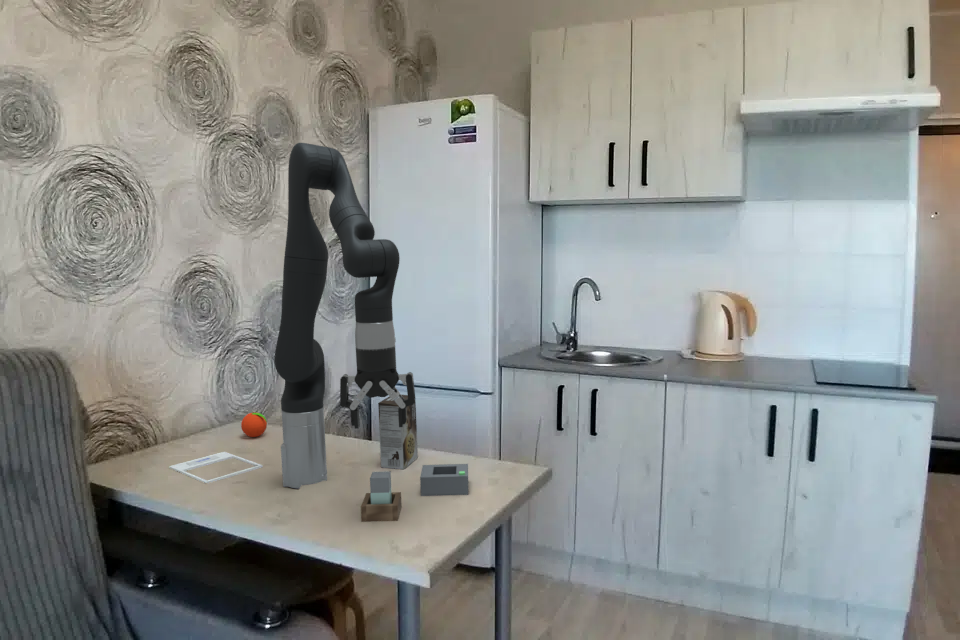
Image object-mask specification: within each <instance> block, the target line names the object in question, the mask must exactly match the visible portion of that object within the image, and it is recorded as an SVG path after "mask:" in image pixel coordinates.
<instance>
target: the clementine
mask: <svg viewBox="0 0 960 640" xmlns="http://www.w3.org/2000/svg"><path fill="white" fill-rule="evenodd" d="M240 424H241V425H240V427H241V430H242V432H243V434H245V436H247V437H249V438H258V437H259V436H261V435H263V434H264V433H265V431H266V430H267V426H268V421H267V418H266V417H265V415H263V414H262V413H260V412H254V411H252V412H250V413H247V414H246V415H244V416H243V418H242V420H241V423H240Z"/></svg>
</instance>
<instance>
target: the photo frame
mask: <svg viewBox="0 0 960 640" xmlns="http://www.w3.org/2000/svg"><path fill="white" fill-rule="evenodd" d="M230 459H236V461H237V460H238V461H240V462H243V463H246V464H248V465H250V466H252V467H248V468H245V469H242V470H237V471H235V472H231V473H228V474H225V475H221V476H218V477H214V478H211V479H208V480H207V479H205V478H203V477H200V476H197V475H194V474H193V473H191V472H189V471H191V470H194V469H198V468H202V467H205V466H208V465H212V464H216V463H220V462H223V461H227V460H230ZM263 467H264V466H263V464H261V463H258V462H255V461H252V460H250V459H247V458H243V457H241V456H238V455H235V454H232V453H231V452H230V453H229V452H227V451H221V452H218V453H214V454H210V455H207V456H203V457H199V458H195V459H192V460H191V459H190V460H188V461H184V462H179V463H176V464H173V465H170V466H168V469H170V470H172V469H173V470H172V471H174V470H175V472H177V471H178V472H177V473H179V472H180V473H179V474H181V473H182V475H184V474H185V475H184V476H186V475H187V476H186V477H188V476H189V477H188V478H191V477H192V478H191V479H193V478H194V479H193V480H195V479H196V480H195V481H198V480H199V481H198V482H200V481H202V482H204V483H203V484H205V483H208V484H210V483H209V482H211V483H214V482H213V481H215V482H218V481H220V480H224V479H227V478H232V477H234V476H237V475H241V474H244V473H248V472H251V471H254V470H258V469H261V468H263ZM187 470H188V472H187ZM217 480H218V481H217ZM202 482H201V483H202Z"/></svg>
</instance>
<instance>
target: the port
mask: <svg viewBox="0 0 960 640" xmlns="http://www.w3.org/2000/svg"><path fill="white" fill-rule="evenodd" d="M419 482H420V483H419V484H420V497H430V496H431V497H436V496H467V495H469V463H447V464H445V463H444V464H422V467H421V472H420V476H419Z"/></svg>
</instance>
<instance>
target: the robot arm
mask: <svg viewBox="0 0 960 640" xmlns="http://www.w3.org/2000/svg"><path fill="white" fill-rule="evenodd" d="M290 151H291V152H290V154H289V159H288V160H289V161H288V169H287V170H288V171H287V172H288V173H287V174H288V175H287V176H288V177H287V179H288V180H287V181H288V182H287V185H288V186H287V189H288V190H287V196H288V197H287V199H288V200H287V201H288V209H287V214H288V215H287V228H286V238H285V239H286V240H285V249H284V256H283V257H284V259H283V273H282V274H283V275H282V278H283V279H282V289H281V290H282V291H281V293H282V294H281V313H280V314H281V317H280V324H279V331H278V336H277V341H276V344H275V352H274V357H273V358H274V359H273V361H274V363H273V364H274V367H275V370H276V372H277V374H278V375H279V376H280V378H281V379H283V380H284V388H283V392H282V395H281V398H280V409H281V422H282V423H281V424H282V444H281V445H280V456H281V458H280V459H281V473H282V474H281V475H282V487H284V488H285V487H287V488H288V487H289V488H292V489H300V488H301V487H302V486H309V485H314V484H318V483H321V482H323V481H325V482H326V481H328V468H327V450H326V449H327V447H326V432H325V429H326V428H325V411H324V398H325V393H326V392H325V391H326V378H325V377H326V369H325V367H326V366H325V365H326V364H325V354H324V350H323V348H322V345H321V344H320V343H319V341H318V340H316V339H315V337H314V335H315V322H316V321H315V320H316V316H317V312H318V308H319V307H320V304H321V301H322V297H323V294H324V291H325V287H326V282H327V281H326V280H327V275H328V274H327V273H328V265H329V264H328V263H329V262H328V261H329V249H328V246H327V243H326V242H325V240H324V239H325V238H324V237H323V235H322V232H321V231H320V229H319V227H318V225H317V223H316V221H315V219H314V217H313V214H312V210H311V205H310V193H309V192H310V189H313V190H321V191H329V192H331V194H333V195H334V196H333V198H332V200H331V203H330V205H329V209H328V218H329V222H330V225H331V226H332V228H333V229H334V230H333V231H334V232H335V234H336V236H337V238H338V239H339V242H340V247H341V253H342V264H343V265H342V266H343V268H344V270H345V272H346V273H348V275H350V276H351V277H354V278H358V279H360V278H361V279H362V278H374V277H376V279H375V282H374V284H373V286H371V287H369V288H366V289H363V290H360V291H357V293H356V294H355V296H354V315H355V317H354V319H355V329H354V330H355V331H354V339H355V361H356V375H348V374H347V373H345V374H343V375H342V376H341V377H340V378H339V379H340V381H339V382H340V383H339V384H340V386H339V389H340V390H339V391H340V393H339V394H340V395H339V406H340V407H341V408H346V409H349V411H350V412H349V413H350V424H351V426H352V427H354V429H355V430H356V429H357V430H358V429H360V427H361V426H360V425H361V422H360V420H361V419H360V407H359V404H360V403H361V402H362V401H363V399H364V398H365V396H366V397H368V398H370V399H371V398H373V399H374V398H376V397H378V398H387V397H389V396H390V397H391V398H392V400H394V401H395V402H396V403H397V405H398V406H399V408H398V416H399V427H403V424H405V423H406V420H407V414H406V407H407V406H409V405H413V404H414V403H415V402H416V392H415V391H416V390H415V380H414V374H413V372H411V371H409V372H407V373H402V374H399V372H398V371H397V370H398V369H397V357H396V355H397V354H396V342H397V341H396V337H395V336H396V335H395V328H394V321H393V320H394V319H393V318H394V317H393V295H394V290H395V289H394V288H395V284H396V280H397V276H398V271H399V267H400V261H401V260H400V259H401V258H400V251H399V249H398V247H397V245H396V244H395V242H393V241H392V240H390V239H385V238H383V239H382V238H381V239H374V237H375V235H376V233H375V227H374V225H373V223H372V222H371V220H370V218H369V216H368V215H367V213H366V211H365V210H364V208H363V207H362V204H361V203H360V201H359V199H358V196H357V193H356V190H355V187H354V184H353V180H352V177H351V174H350V171H349V168H348V166H347V163H346V160H345V158H344V156H343V155H342V153H341V152H340V151H339V150H338V149H336V148H333V147H330V146H323V145H318V144H312V143H307V142H298V143H295V145H293V146H292V149H291V150H290ZM399 381H401V383H402V385H404V386H406V390H407V391H406V393H407V394H406V395H408V398H407V399H404V398H403V397H402V395H403V394H401V392H400V391H399V390H398V389H397V388H396V385H397V384H398V383H399ZM353 382H355V384H356V386H357V387H358V388H359V389H360V391H359V392H358V393H357V395H356V397H355V398H354V400H351V399H350V398H349V397H350V396H349V394H350V393H349V392H350V391H349V389H350V387H351V386H352V385H353Z"/></svg>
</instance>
